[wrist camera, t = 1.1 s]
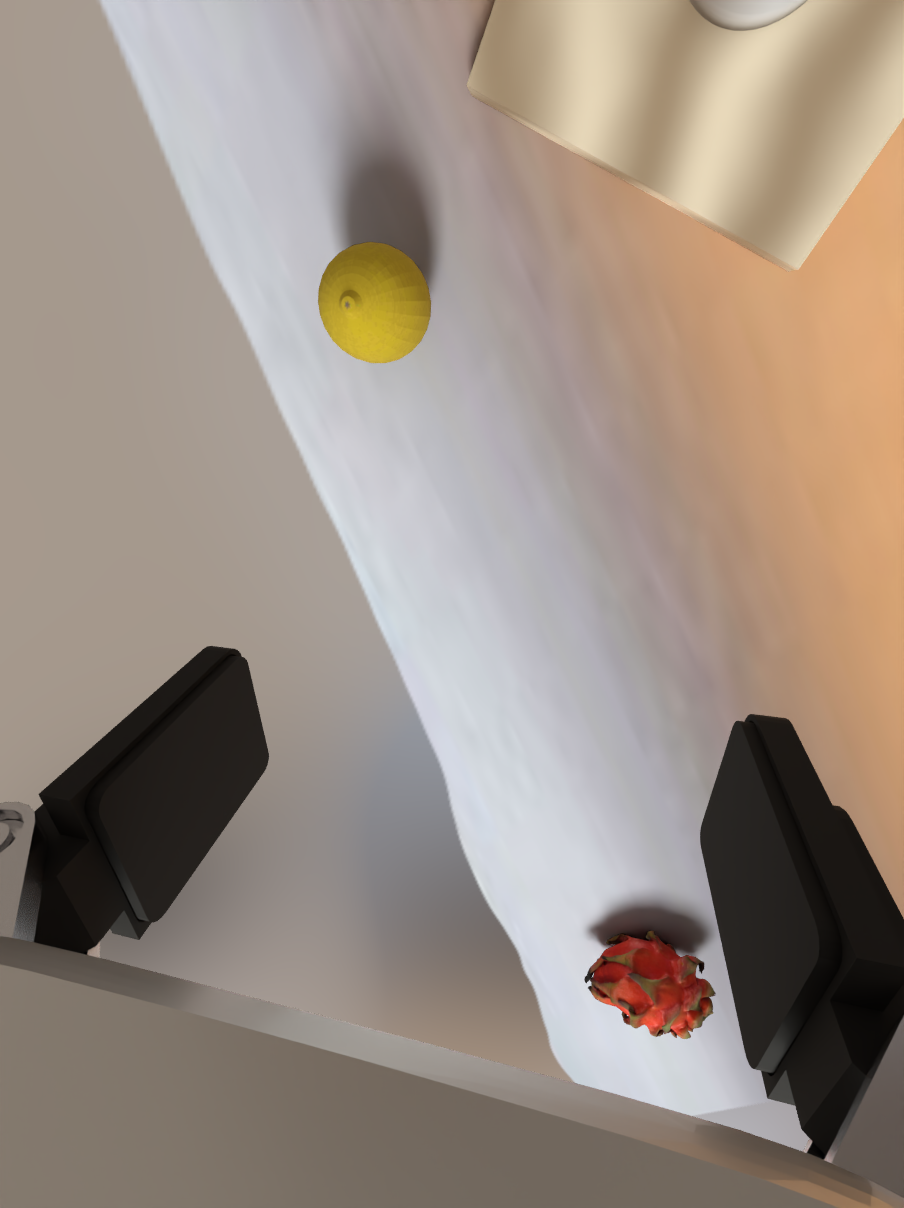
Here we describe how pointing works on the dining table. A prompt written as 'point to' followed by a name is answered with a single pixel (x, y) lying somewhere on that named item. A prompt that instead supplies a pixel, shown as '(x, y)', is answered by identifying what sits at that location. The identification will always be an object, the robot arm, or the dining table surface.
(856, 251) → the dining table surface
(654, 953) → the dragon fruit
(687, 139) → the base
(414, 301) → the lemon
